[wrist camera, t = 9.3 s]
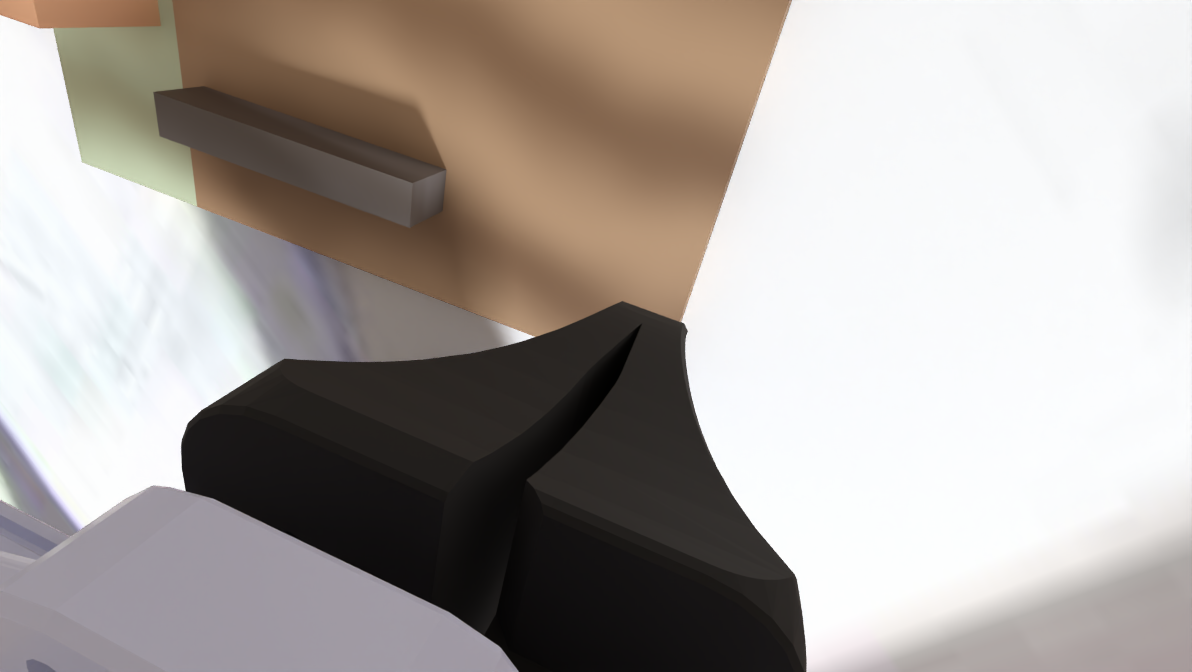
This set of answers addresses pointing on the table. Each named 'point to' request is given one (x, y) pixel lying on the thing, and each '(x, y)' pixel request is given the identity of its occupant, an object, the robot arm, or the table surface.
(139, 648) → the robot arm
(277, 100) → the board
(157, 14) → the terracotta block
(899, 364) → the table surface
